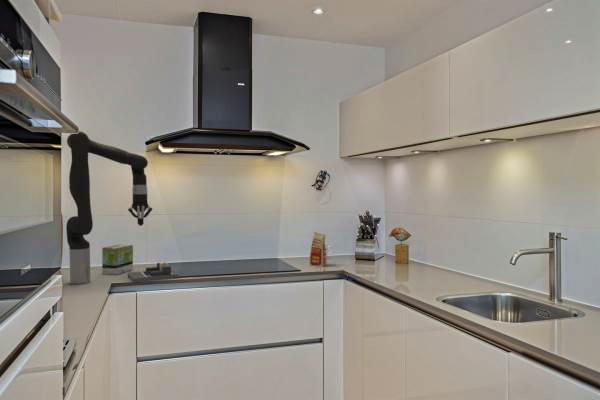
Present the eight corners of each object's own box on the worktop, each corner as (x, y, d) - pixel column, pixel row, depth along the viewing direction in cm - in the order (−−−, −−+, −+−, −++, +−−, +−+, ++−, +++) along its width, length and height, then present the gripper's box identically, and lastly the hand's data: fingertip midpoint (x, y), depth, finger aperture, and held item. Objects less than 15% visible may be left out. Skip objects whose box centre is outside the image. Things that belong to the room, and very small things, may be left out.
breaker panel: (133, 282, 226) (132, 270, 226) (127, 276, 242) (127, 265, 241) (177, 278, 236) (177, 266, 236) (169, 272, 252) (169, 261, 252)
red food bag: (309, 266, 267) (308, 232, 266) (313, 263, 275) (313, 231, 275) (324, 267, 264) (323, 233, 263) (328, 264, 272) (328, 231, 272)
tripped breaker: (160, 273, 239) (160, 263, 239) (159, 272, 242) (159, 262, 242) (168, 272, 241) (168, 262, 241) (167, 271, 244) (167, 262, 244)
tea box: (118, 274, 246) (117, 247, 246) (101, 274, 248) (101, 247, 248) (133, 269, 261) (133, 244, 260) (118, 269, 263) (117, 243, 262)
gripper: (151, 193, 250) (151, 224, 251) (125, 193, 244) (126, 225, 245) (153, 193, 244) (154, 225, 244) (127, 193, 237) (128, 226, 238)
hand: (140, 225), depth 244 cm, fingers closed
